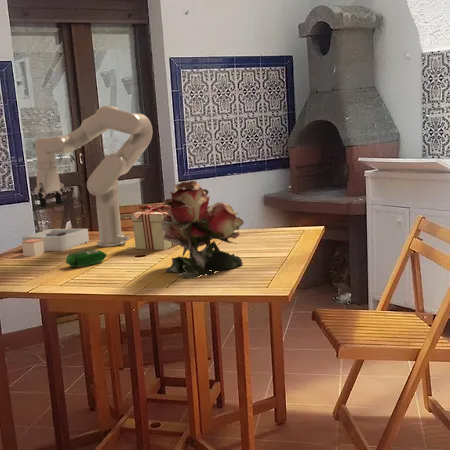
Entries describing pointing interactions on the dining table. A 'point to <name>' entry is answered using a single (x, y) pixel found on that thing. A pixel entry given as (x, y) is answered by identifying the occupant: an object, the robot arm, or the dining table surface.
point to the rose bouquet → (199, 230)
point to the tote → (60, 239)
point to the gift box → (150, 228)
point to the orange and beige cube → (33, 247)
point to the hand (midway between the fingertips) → (51, 205)
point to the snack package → (85, 258)
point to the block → (55, 234)
